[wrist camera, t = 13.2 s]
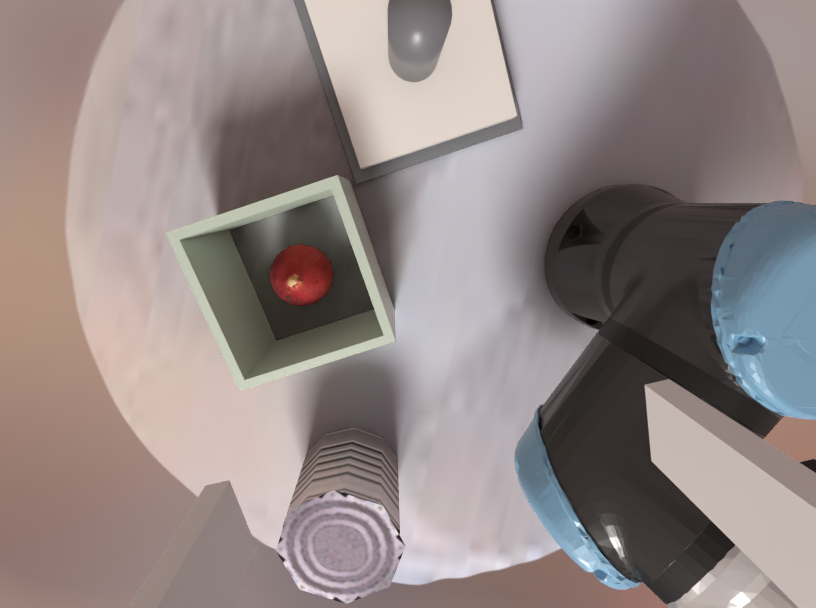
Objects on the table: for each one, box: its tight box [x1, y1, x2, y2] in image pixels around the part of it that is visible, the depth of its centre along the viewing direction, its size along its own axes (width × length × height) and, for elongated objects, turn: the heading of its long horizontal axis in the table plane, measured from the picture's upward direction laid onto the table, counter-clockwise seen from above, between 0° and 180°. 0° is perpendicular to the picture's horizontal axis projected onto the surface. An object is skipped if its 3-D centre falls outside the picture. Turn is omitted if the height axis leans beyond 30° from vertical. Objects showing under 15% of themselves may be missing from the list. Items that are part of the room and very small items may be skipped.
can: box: [276, 427, 405, 603], centre depth 43 cm, size 11×11×12 cm
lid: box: [304, 0, 517, 169], centre depth 33 cm, size 15×15×10 cm
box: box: [165, 175, 396, 391], centre depth 38 cm, size 14×14×10 cm
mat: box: [294, 0, 522, 184], centre depth 38 cm, size 17×17×1 cm
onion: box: [270, 244, 333, 306], centre depth 39 cm, size 6×6×8 cm
